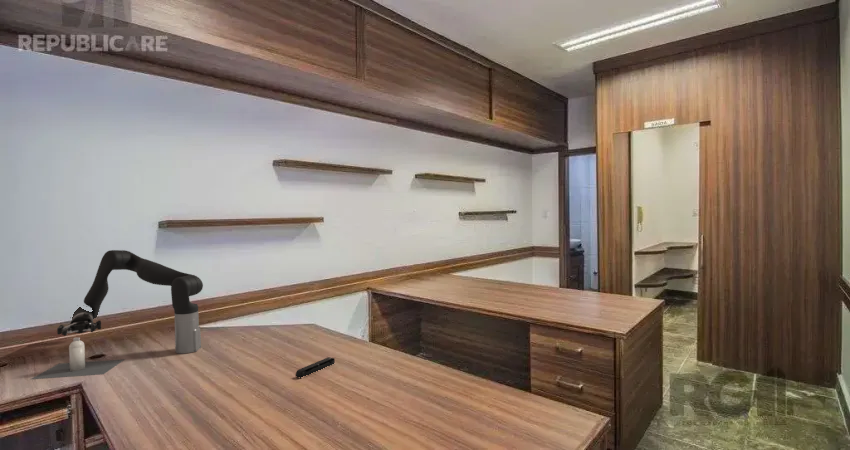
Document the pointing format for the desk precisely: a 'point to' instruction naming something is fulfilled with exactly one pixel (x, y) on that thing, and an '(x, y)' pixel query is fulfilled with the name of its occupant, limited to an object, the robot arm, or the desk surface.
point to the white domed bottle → (77, 355)
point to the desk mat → (89, 369)
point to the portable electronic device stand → (315, 367)
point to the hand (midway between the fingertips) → (78, 331)
